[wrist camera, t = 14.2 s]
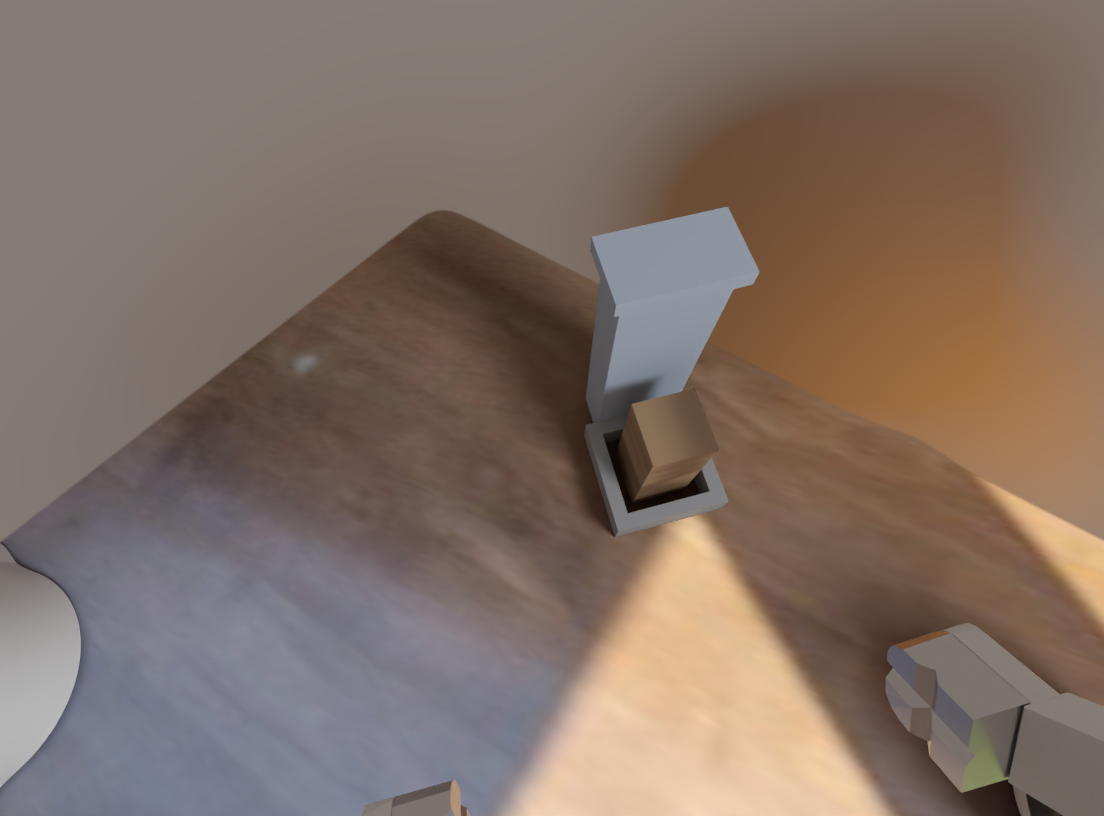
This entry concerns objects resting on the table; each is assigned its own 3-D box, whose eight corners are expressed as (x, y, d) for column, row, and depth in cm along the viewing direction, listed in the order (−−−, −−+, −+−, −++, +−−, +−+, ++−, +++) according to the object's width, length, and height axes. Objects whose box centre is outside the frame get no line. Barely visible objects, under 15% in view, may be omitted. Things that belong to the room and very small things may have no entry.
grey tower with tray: (614, 537, 40) (659, 461, 23) (571, 395, 44) (581, 239, 27) (719, 508, 41) (840, 413, 23) (667, 372, 45) (737, 204, 28)
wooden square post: (631, 504, 41) (653, 466, 32) (615, 454, 43) (631, 403, 33) (682, 490, 41) (718, 449, 32) (665, 441, 43) (694, 388, 34)
